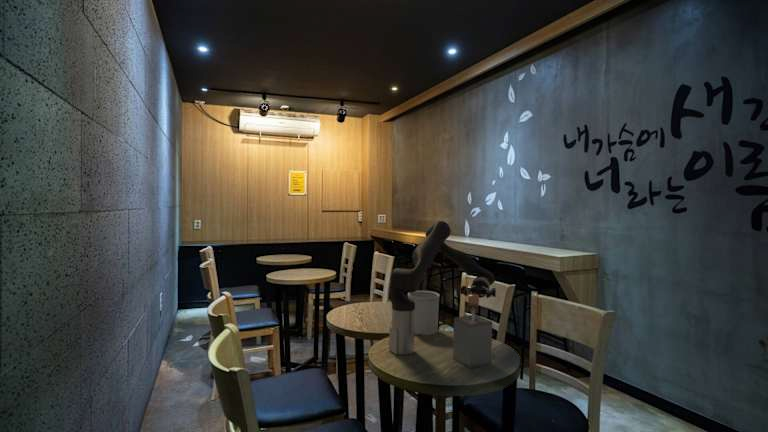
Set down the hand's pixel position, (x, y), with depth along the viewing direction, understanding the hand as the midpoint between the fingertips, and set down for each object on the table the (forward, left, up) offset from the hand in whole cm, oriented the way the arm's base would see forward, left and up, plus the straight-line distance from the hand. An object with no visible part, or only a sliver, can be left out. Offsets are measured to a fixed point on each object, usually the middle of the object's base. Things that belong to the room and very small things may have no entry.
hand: (476, 294), depth 166 cm
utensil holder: (-5, +32, -24) cm, 40 cm away
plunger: (-8, -8, -21) cm, 24 cm away
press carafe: (-8, -8, -23) cm, 26 cm away
